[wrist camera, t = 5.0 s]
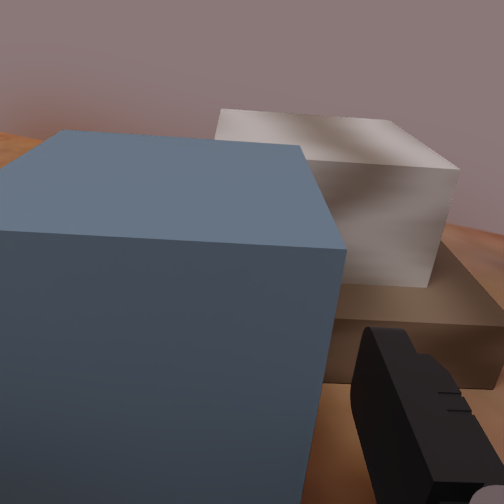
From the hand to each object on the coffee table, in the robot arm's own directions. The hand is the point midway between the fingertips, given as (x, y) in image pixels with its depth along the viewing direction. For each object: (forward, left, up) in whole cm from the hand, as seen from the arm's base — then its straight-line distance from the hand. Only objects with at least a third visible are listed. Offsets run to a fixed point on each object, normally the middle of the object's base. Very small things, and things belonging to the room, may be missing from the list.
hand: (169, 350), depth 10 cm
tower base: (0, +14, -6) cm, 15 cm away
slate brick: (0, 0, -6) cm, 6 cm away
